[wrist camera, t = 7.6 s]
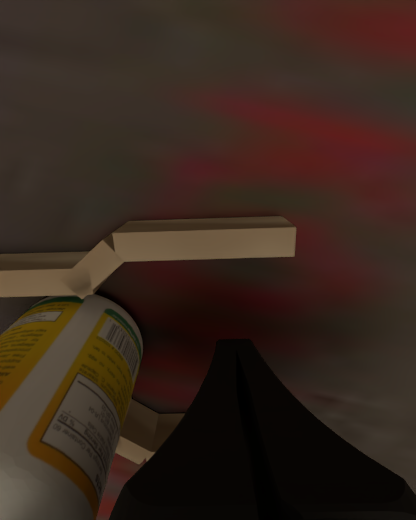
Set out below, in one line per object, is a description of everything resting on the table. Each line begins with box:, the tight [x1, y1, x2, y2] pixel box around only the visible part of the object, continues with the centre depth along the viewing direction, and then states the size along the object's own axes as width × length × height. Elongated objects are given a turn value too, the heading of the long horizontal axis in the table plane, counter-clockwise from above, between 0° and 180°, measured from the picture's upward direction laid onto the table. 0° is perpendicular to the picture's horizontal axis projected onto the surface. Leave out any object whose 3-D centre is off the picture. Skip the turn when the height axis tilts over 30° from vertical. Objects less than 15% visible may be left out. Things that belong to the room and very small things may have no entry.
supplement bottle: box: [0, 294, 143, 520], centre depth 8 cm, size 5×5×10 cm
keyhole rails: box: [0, 216, 296, 464], centre depth 12 cm, size 11×16×2 cm
